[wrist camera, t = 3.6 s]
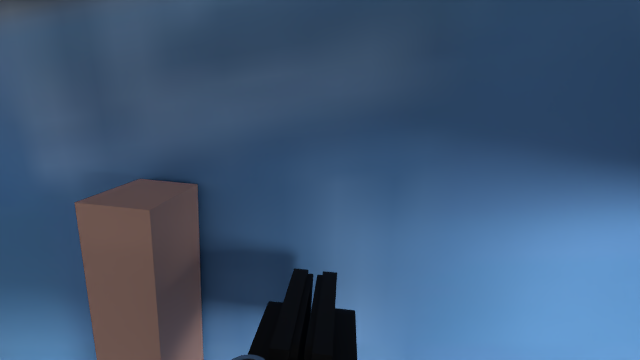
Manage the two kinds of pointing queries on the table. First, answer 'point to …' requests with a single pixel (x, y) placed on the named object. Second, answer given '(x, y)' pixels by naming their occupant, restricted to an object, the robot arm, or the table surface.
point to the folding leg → (143, 270)
